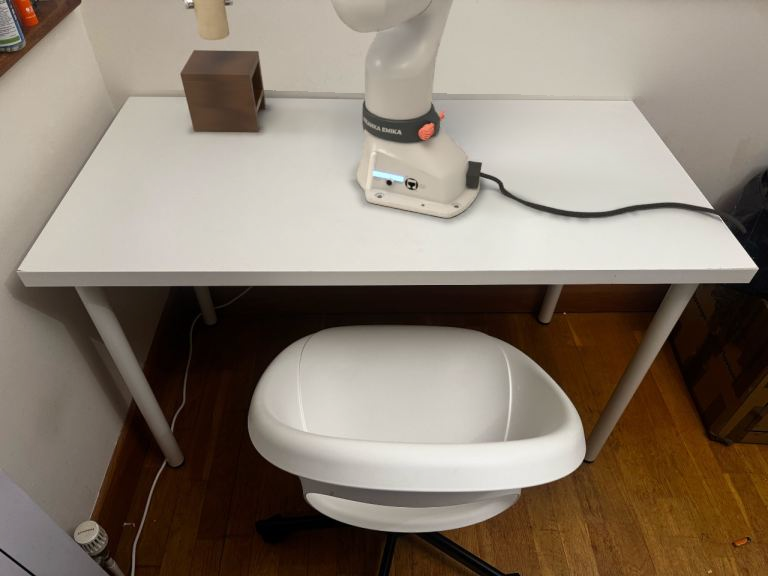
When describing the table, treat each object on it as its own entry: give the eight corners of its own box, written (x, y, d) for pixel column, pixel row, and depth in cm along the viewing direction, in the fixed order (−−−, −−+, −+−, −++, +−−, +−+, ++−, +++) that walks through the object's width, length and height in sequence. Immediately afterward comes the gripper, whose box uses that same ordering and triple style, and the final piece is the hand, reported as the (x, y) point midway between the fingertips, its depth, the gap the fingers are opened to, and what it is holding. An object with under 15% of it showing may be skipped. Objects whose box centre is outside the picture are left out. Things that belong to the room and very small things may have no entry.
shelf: (266, 106, 122) (258, 50, 114) (258, 132, 114) (249, 74, 106) (205, 105, 122) (193, 49, 114) (194, 131, 114) (179, 73, 106)
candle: (196, 31, 107) (184, -27, 100) (225, 27, 109) (215, -30, 102) (203, 42, 103) (191, -18, 96) (233, 38, 105) (223, -21, 98)
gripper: (128, -79, 96) (146, 1, 96) (249, -85, 101) (265, -9, 101) (135, -56, 102) (152, 19, 102) (248, -63, 107) (264, 9, 107)
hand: (209, 5), depth 102 cm, fingers closed on candle, 5 cm apart
